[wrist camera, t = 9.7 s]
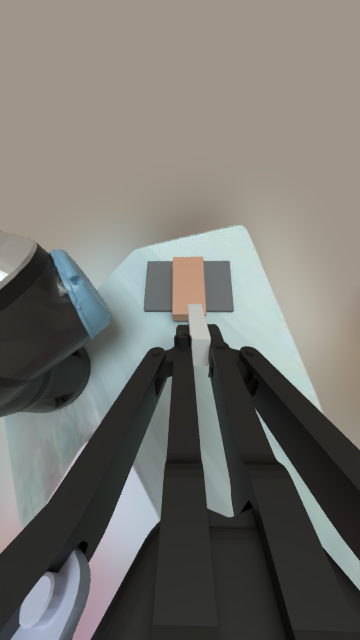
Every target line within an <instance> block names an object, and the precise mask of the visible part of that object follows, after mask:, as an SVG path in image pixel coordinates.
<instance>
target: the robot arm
mask: <svg viewBox="0 0 360 640" xmlns="http://www.w3.org/2000/svg"><path fill="white" fill-rule="evenodd" d="M110 322H111V313H110V311H109V309H108V307H107V305H106V304H105V302H104V300H103V299H102V297H101V296H100V294H99V293H98V292H97V290H96V289H95V287H94V286H93V285H92V283H91V282H90V280H89V279H88V278H87V276H86V275H85V274H84V272H83V271H82V270H81V269H80V267H79V266H78V265H77V264H76V262H75V261H74V260H73V259H72V258H71V257H70V256H69V255H68V254H67V252H65V251H64V250H62V249H58V250H52V251H51V252H50V253H48V252H46V251H45V250H44V249H42V247H41V246H40V245H38V244H37V243H36V242H35V241H34V240H32V239H31V238H29V237H24V236H19V235H15V234H10V233H5V232H2V231H0V417H3V416H6V415H10V414H13V413H16V412H32V413H46V412H51V411H54V410H57V409H60V408H62V407H65V406H67V405H68V404H70V403H71V402H73V401H74V400H75V399H76V398H77V397H78V396H79V395H80V394H81V393H82V391H83V390H84V388H85V386H86V384H87V382H88V379H89V375H90V361H89V357H88V355H87V353H86V351H85V350H84V348H83V347H82V346H83V345H85V344H86V343H87V342H89V341H90V340H92V339H94V338H95V336H96V335H97V334H98V333H100V332H101V331H102V330H103V329H104V328H106V327H107V326H108V325H109V324H110ZM208 362H209V375H208V377H210V378H211V383H212V389H213V394H214V399H215V404H216V410H217V415H218V420H219V425H220V430H221V436H222V441H223V446H224V451H225V457H226V462H227V467H228V472H229V477H230V484H231V499H232V506H233V512H234V516H233V517H226V516H223V515H221V514H219V513H216V512H214V511H212V510H209V509H207V503H206V492H205V481H204V471H203V464H202V460H201V451H200V439H199V428H198V416H197V404H196V392H195V380H194V368H193V366H208ZM170 376H172V390H171V404H170V418H169V433H168V447H167V459H166V463H165V470H164V482H163V495H162V508H161V521H159V522H158V523H157V524H156V526H155V527H154V528H153V529H152V530H151V532H150V533H149V534H148V536H147V538H146V539H145V541H144V543H143V544H142V546H141V548H140V550H139V551H138V553H137V555H136V557H135V559H134V561H133V563H132V565H131V566H130V568H129V570H128V572H127V574H126V575H125V577H124V579H123V581H122V583H121V585H120V587H119V589H118V590H117V592H116V594H115V596H114V598H113V600H112V601H111V603H110V605H109V607H108V609H107V611H106V612H105V614H104V616H103V618H102V620H101V622H100V624H99V626H98V627H97V629H96V631H95V633H94V635H93V636H92V638H91V640H360V590H359V589H358V588H357V587H356V586H355V584H354V583H353V582H352V581H351V580H350V579H349V577H348V576H347V575H346V574H345V573H344V572H343V570H342V569H341V568H340V567H339V566H338V565H337V563H336V562H335V561H334V560H333V559H332V557H331V556H330V555H329V554H328V553H327V552H326V550H325V549H324V548H323V547H322V545H321V543H320V541H319V538H318V536H317V534H316V532H315V529H314V527H313V525H312V523H311V520H310V518H309V516H308V514H307V512H306V509H305V507H304V505H303V503H302V500H301V498H300V496H299V494H298V491H297V489H296V487H295V485H294V482H293V480H292V478H291V476H290V474H289V472H288V471H287V469H286V468H285V467H284V465H282V464H281V463H279V462H278V461H277V459H276V458H275V456H274V454H273V451H272V449H271V446H270V444H269V442H268V439H267V437H266V434H265V432H264V430H263V427H262V425H261V422H260V420H259V417H258V415H257V413H256V410H257V412H258V413H259V415H260V416H261V418H262V419H263V421H264V422H265V424H266V425H267V427H268V428H269V430H270V431H271V433H272V434H273V436H274V437H275V439H276V440H277V442H278V443H279V445H280V446H281V448H282V449H283V451H284V452H285V454H286V455H287V457H288V458H289V460H290V461H291V463H292V464H293V466H294V467H295V469H296V470H297V472H298V473H299V475H300V476H301V478H302V480H303V481H304V483H305V484H306V486H307V487H308V489H309V490H310V492H311V493H312V495H313V496H314V498H315V499H316V501H317V502H318V504H319V505H320V507H321V508H322V510H323V511H324V513H325V514H326V516H327V517H328V519H329V520H330V521H331V523H332V524H333V526H334V527H335V529H336V530H337V531H338V533H339V534H340V536H341V537H342V539H343V540H344V541H345V542H346V544H347V545H348V546H349V548H350V549H351V550H352V551H353V553H354V554H355V555H356V557H357V558H358V559H359V560H360V450H359V449H358V448H357V447H356V446H355V445H354V444H353V443H352V442H351V441H350V440H349V439H348V438H347V437H345V435H344V434H343V433H342V432H340V431H339V429H338V428H337V427H335V426H334V425H333V424H332V423H331V422H330V421H329V420H328V419H327V418H326V417H325V416H324V415H323V414H322V413H321V412H320V411H319V410H318V409H317V408H316V407H315V406H314V405H313V404H312V403H311V402H310V401H309V400H308V399H307V398H306V397H305V396H304V395H303V394H302V393H301V392H300V391H299V390H298V389H297V388H296V387H295V386H294V385H292V384H291V383H290V382H289V381H288V380H287V379H286V378H285V377H284V376H283V375H282V374H281V373H280V372H279V371H278V370H277V369H276V368H275V367H274V366H273V365H272V364H271V363H270V362H269V361H268V360H267V359H266V358H265V357H264V356H263V355H262V354H261V353H260V352H259V351H258V350H256V349H255V348H252V347H248V346H245V347H242V348H241V349H240V350H235V349H232V348H230V347H229V346H228V344H227V343H225V342H224V340H223V337H222V335H221V332H220V330H219V327H218V326H217V325H215V324H207V323H206V319H205V315H204V312H203V308H202V304H188V325H178V326H177V328H176V335H175V337H174V347H173V348H172V349H169V350H166V351H165V350H164V349H163V348H160V347H155V348H152V349H150V350H149V351H148V352H147V354H146V355H145V357H144V358H143V360H142V361H141V363H140V364H139V366H138V367H137V369H136V370H135V372H134V373H133V375H132V377H131V378H130V380H129V381H128V383H127V384H126V386H125V387H124V389H123V390H122V392H121V393H120V395H119V396H118V398H117V399H116V401H115V402H114V404H113V405H112V407H111V408H110V410H109V411H108V413H107V414H106V416H105V417H104V419H103V420H102V422H101V424H100V425H99V427H98V428H97V430H96V431H95V433H94V434H93V436H92V437H91V439H90V440H89V442H88V443H87V445H86V446H85V448H84V449H83V451H82V452H81V454H80V455H79V457H78V458H77V460H76V462H75V463H74V465H73V466H72V467H71V469H70V471H69V472H68V474H67V475H66V477H65V478H64V480H63V481H62V483H61V484H60V486H59V487H58V489H57V490H56V492H55V493H54V495H53V496H52V498H51V499H50V501H49V502H48V504H47V505H46V506H45V507H44V508H43V509H42V510H41V511H40V512H39V513H38V514H37V515H36V516H35V517H34V519H33V520H32V521H31V522H30V523H29V524H28V525H27V526H26V527H25V528H24V529H23V530H22V531H21V533H20V534H19V535H18V536H17V537H16V538H15V539H14V540H13V541H12V542H11V543H10V544H9V545H8V546H7V548H6V549H5V550H4V551H3V552H2V553H1V554H0V640H72V637H73V634H74V632H75V630H76V627H77V625H78V622H79V620H80V617H81V615H82V613H83V610H84V608H85V605H86V601H87V598H88V594H89V589H90V581H91V579H90V568H89V564H88V563H89V561H90V559H91V558H92V556H93V554H94V552H95V550H96V548H97V546H98V544H99V543H100V540H101V539H102V537H103V535H104V533H105V530H106V528H107V526H108V524H109V521H110V519H111V517H112V515H113V512H114V510H115V507H116V505H117V502H118V500H119V497H120V495H121V492H122V490H123V487H124V485H125V482H126V480H127V477H128V475H129V472H130V470H131V467H132V465H133V462H134V460H135V457H136V455H137V453H138V450H139V448H140V445H141V443H142V440H143V438H144V435H145V433H146V430H147V428H148V425H149V423H150V420H151V418H152V415H153V413H154V410H155V408H156V405H157V403H158V400H159V398H160V395H161V393H162V390H163V388H164V385H165V383H166V380H167V377H170ZM254 407H255V408H254ZM255 409H256V410H255Z"/></svg>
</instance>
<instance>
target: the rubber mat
mask: <svg viewBox="0 0 360 640" xmlns="http://www.w3.org/2000/svg"><path fill="white" fill-rule="evenodd" d="M203 266H204V284H205V302H206V312H233V311H234V307H233V296H232V285H231V273H230V262H229V261H203ZM172 308H173V261H148V264H147V276H146V288H145V300H144V311H145V312H172Z"/></svg>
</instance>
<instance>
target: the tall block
mask: <svg viewBox="0 0 360 640" xmlns="http://www.w3.org/2000/svg"><path fill="white" fill-rule="evenodd" d="M188 304H202V308H203V312H204V315H206V302H205V284H204V266H203V257H173V308H172V315H173V319H174V321H188Z"/></svg>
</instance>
